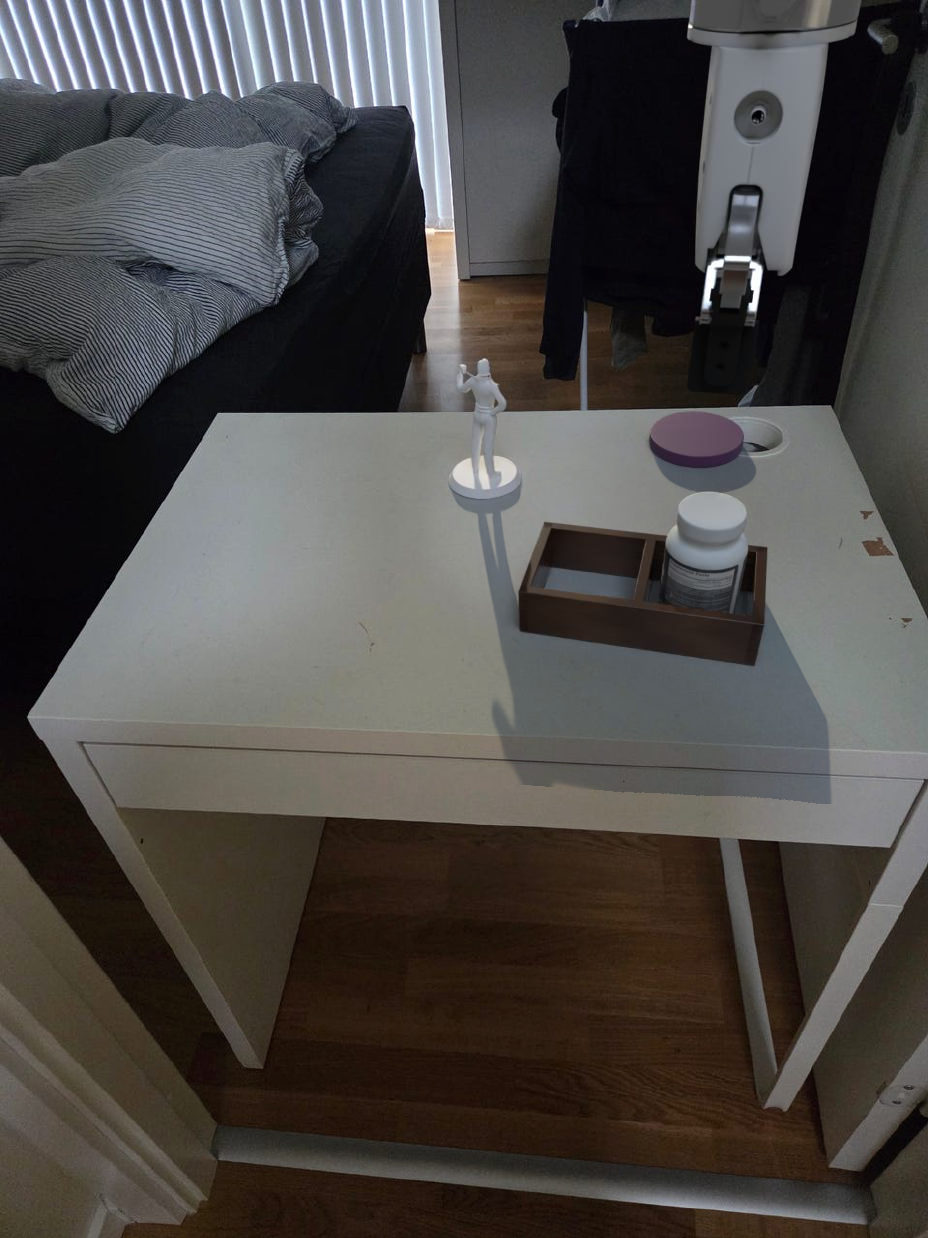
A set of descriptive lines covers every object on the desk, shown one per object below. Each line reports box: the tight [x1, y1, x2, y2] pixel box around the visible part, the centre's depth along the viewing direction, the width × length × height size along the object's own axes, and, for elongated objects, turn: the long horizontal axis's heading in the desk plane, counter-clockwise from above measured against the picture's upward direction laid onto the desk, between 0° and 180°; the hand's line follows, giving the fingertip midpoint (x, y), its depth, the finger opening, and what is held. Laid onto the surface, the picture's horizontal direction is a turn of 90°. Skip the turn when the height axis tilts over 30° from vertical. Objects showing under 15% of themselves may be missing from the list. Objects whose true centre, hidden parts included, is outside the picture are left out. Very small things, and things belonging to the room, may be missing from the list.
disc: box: [648, 410, 745, 468], centre depth 83 cm, size 9×9×1 cm
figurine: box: [448, 358, 523, 500], centre depth 77 cm, size 7×7×12 cm
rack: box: [517, 521, 769, 667], centre depth 64 cm, size 17×9×4 cm, turn 74°
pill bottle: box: [658, 491, 749, 614], centre depth 61 cm, size 6×6×10 cm
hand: (720, 352), depth 50 cm, fingers open, 9 cm apart
